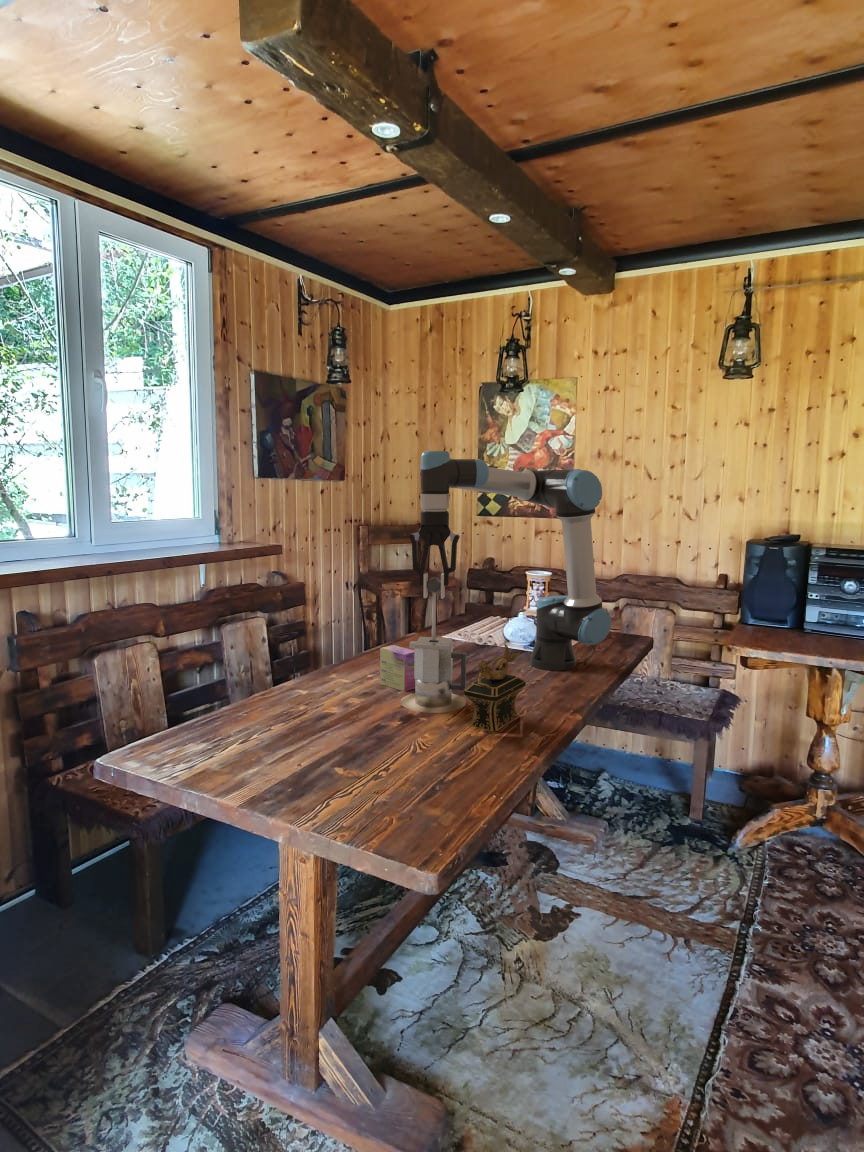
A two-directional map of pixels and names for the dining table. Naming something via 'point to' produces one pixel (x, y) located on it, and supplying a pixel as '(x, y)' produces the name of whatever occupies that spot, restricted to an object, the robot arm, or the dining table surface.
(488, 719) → the decorative box
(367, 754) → the dining table surface
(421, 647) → the carafe
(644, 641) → the dining table surface
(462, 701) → the beige plate
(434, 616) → the plunger
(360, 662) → the dining table surface
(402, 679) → the box
